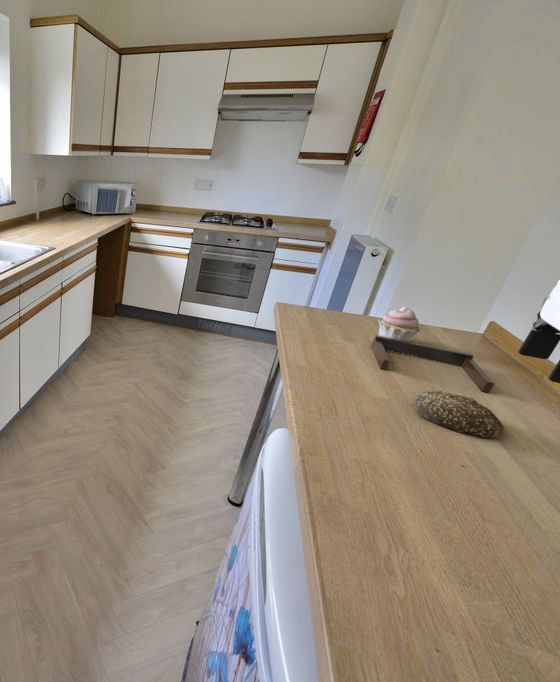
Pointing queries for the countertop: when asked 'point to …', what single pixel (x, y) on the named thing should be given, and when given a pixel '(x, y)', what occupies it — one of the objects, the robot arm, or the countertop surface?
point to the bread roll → (458, 414)
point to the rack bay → (431, 353)
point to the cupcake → (399, 324)
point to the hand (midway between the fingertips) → (547, 368)
